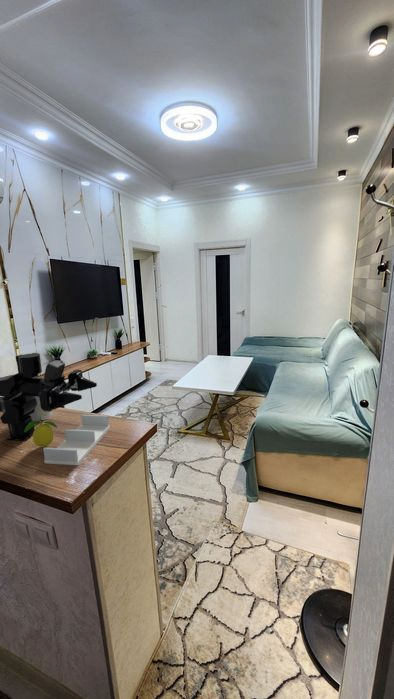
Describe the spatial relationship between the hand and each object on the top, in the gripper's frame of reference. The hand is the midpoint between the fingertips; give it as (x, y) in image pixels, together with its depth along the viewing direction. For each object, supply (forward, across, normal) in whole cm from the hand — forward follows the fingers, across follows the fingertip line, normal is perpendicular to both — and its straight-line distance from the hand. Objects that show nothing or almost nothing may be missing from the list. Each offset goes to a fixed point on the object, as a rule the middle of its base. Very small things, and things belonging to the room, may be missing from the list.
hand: (89, 390), depth 88 cm
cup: (-28, +12, +18) cm, 35 cm away
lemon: (-13, -6, +17) cm, 22 cm away
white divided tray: (-3, -3, +16) cm, 17 cm away
